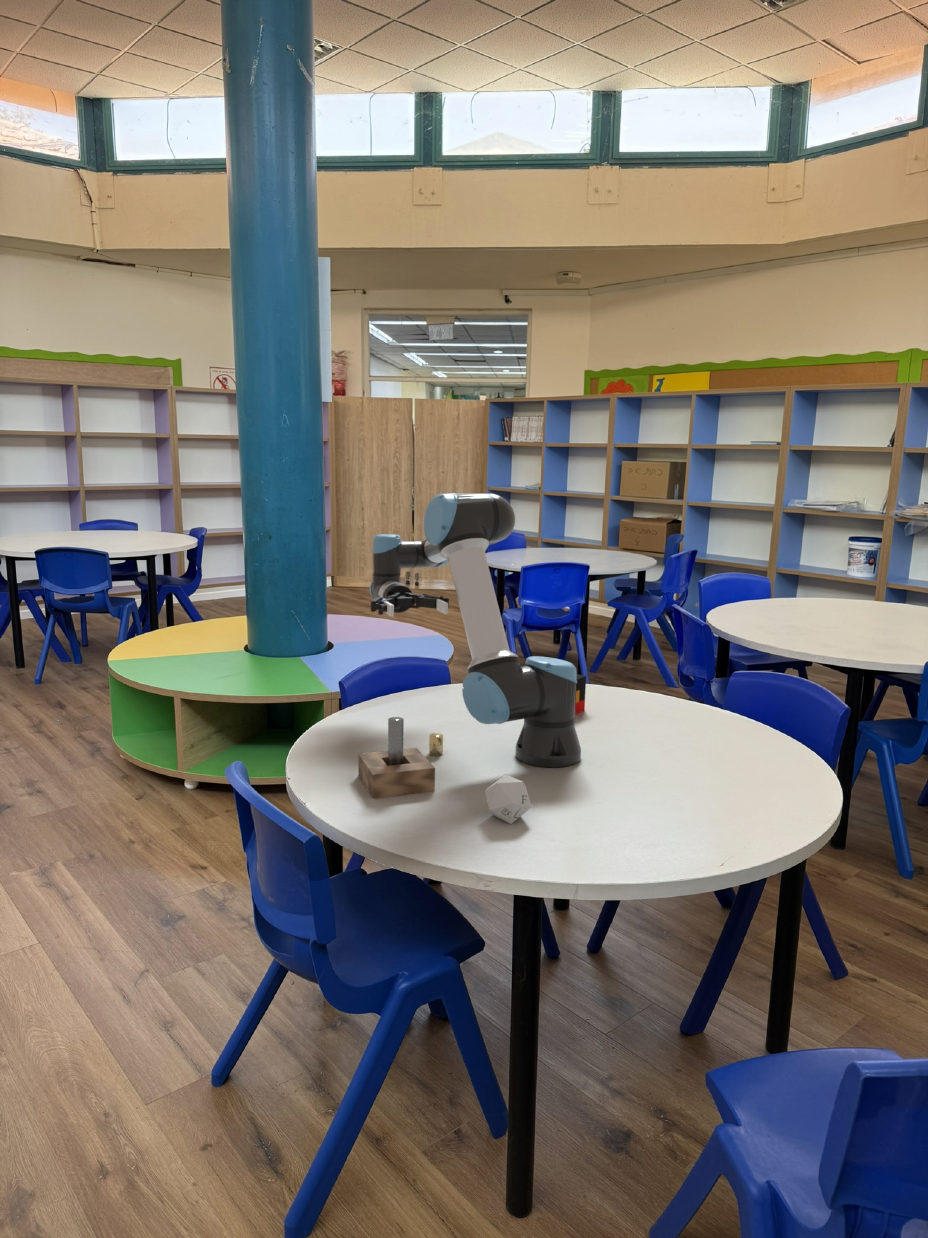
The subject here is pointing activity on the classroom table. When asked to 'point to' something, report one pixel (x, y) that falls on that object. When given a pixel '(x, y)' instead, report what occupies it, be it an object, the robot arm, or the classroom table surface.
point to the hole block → (396, 774)
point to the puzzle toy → (580, 693)
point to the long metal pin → (395, 740)
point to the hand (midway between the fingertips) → (419, 609)
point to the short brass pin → (435, 744)
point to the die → (508, 798)
